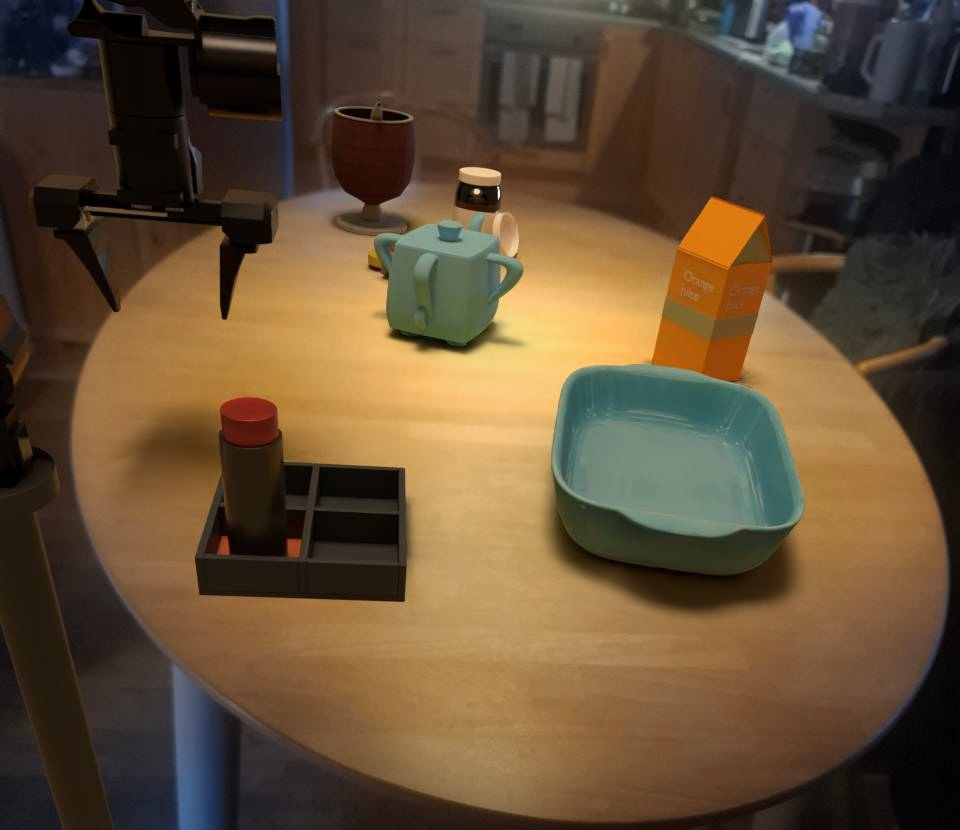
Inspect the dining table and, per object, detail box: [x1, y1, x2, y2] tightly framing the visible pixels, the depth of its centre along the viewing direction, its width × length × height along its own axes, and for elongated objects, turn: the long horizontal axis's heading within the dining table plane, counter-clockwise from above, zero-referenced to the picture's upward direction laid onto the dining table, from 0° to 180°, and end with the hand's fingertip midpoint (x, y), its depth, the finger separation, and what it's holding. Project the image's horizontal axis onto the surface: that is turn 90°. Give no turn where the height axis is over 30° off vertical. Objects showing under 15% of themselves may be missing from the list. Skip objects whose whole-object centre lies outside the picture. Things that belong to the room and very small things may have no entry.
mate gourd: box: [330, 101, 416, 237], centre depth 149 cm, size 16×14×20 cm
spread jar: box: [452, 166, 520, 258], centre depth 146 cm, size 12×11×12 cm
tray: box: [194, 461, 408, 603], centre depth 74 cm, size 16×16×4 cm
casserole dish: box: [550, 363, 806, 576], centre depth 86 cm, size 37×22×7 cm, turn 172°
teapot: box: [373, 213, 525, 347], centre depth 115 cm, size 18×16×14 cm
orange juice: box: [651, 195, 774, 382], centre depth 109 cm, size 8×9×20 cm
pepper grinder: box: [217, 396, 288, 557], centre depth 68 cm, size 5×5×13 cm
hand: (171, 314), depth 78 cm, fingers open, 9 cm apart
